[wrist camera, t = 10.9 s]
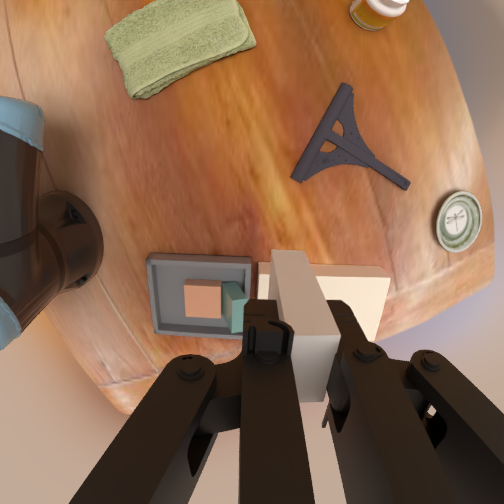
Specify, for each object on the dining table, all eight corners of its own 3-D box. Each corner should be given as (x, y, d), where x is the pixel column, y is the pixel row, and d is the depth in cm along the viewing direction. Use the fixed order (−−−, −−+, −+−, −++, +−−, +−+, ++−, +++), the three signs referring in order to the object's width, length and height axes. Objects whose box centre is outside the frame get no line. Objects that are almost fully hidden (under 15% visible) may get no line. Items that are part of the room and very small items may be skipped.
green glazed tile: (234, 312, 45) (221, 313, 44) (235, 281, 43) (221, 283, 43) (246, 330, 41) (231, 333, 40) (247, 298, 39) (232, 300, 38)
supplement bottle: (386, 34, 31) (419, 14, 22) (349, 27, 31) (376, 2, 22) (383, 3, 29) (413, -22, 20) (347, -4, 29) (371, -34, 20)
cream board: (254, 326, 47) (254, 342, 43) (258, 261, 43) (259, 274, 39) (366, 326, 47) (374, 340, 43) (380, 266, 43) (390, 277, 40)
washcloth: (261, 47, 33) (262, 40, 30) (137, 106, 36) (128, 104, 33) (221, -24, 29) (219, -34, 26) (105, 34, 31) (95, 28, 28)
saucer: (440, 259, 43) (447, 264, 41) (420, 208, 40) (428, 212, 38) (480, 227, 41) (488, 231, 39) (463, 177, 38) (472, 179, 36)
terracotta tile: (220, 318, 43) (222, 311, 45) (220, 286, 41) (221, 280, 43) (185, 316, 43) (188, 309, 45) (183, 285, 41) (186, 278, 43)
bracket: (378, 227, 42) (386, 233, 39) (289, 176, 39) (292, 178, 37) (424, 143, 38) (434, 144, 35) (340, 83, 35) (346, 80, 32)
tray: (158, 324, 46) (154, 333, 44) (151, 252, 42) (145, 259, 40) (247, 329, 47) (247, 339, 44) (251, 256, 43) (251, 264, 40)
